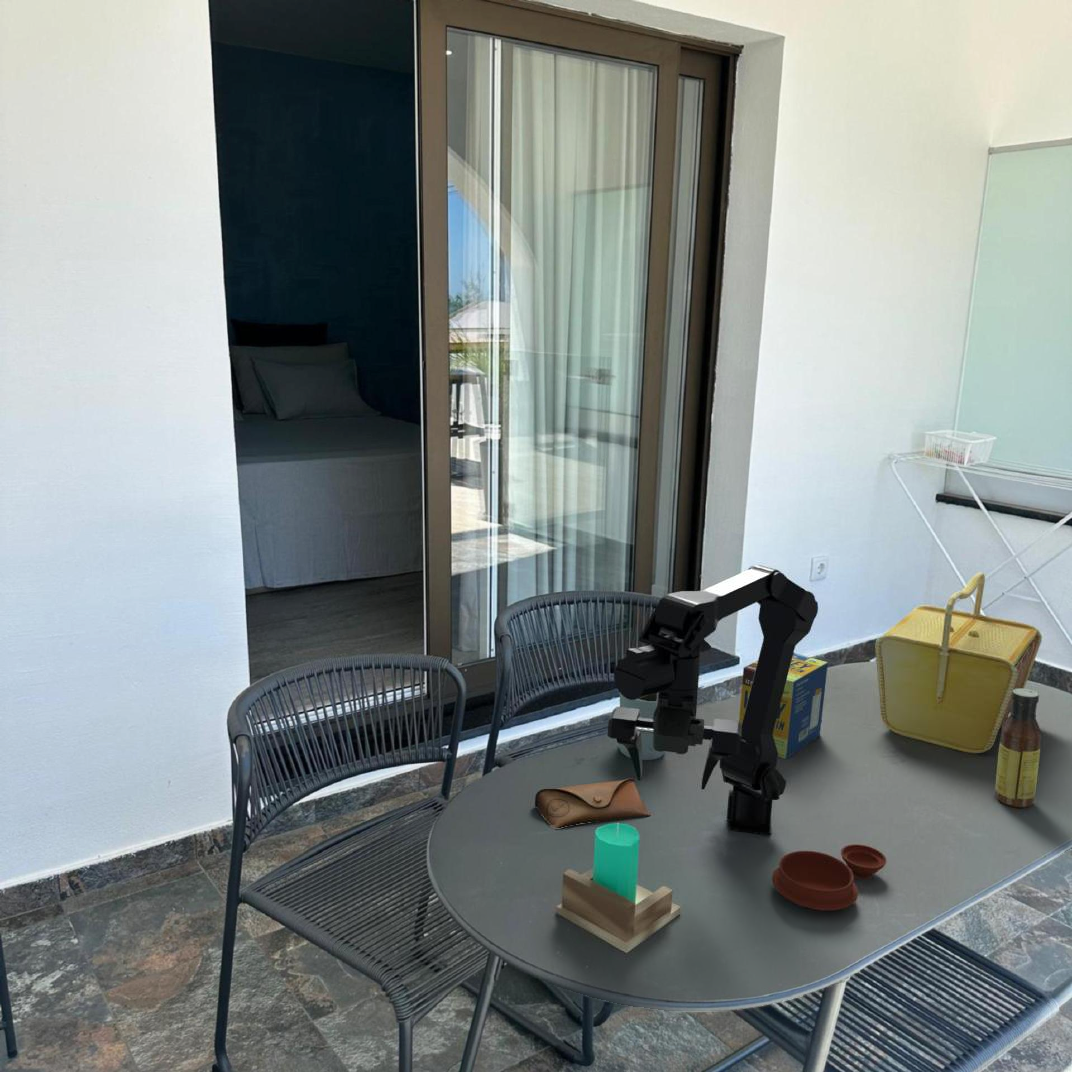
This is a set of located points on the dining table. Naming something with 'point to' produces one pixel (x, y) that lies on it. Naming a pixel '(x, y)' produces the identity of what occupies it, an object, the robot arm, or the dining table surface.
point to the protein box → (794, 703)
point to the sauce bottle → (1019, 751)
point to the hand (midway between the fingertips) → (671, 784)
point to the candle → (617, 859)
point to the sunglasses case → (590, 803)
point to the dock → (615, 910)
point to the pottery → (826, 876)
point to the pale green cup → (646, 711)
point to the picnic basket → (953, 672)
